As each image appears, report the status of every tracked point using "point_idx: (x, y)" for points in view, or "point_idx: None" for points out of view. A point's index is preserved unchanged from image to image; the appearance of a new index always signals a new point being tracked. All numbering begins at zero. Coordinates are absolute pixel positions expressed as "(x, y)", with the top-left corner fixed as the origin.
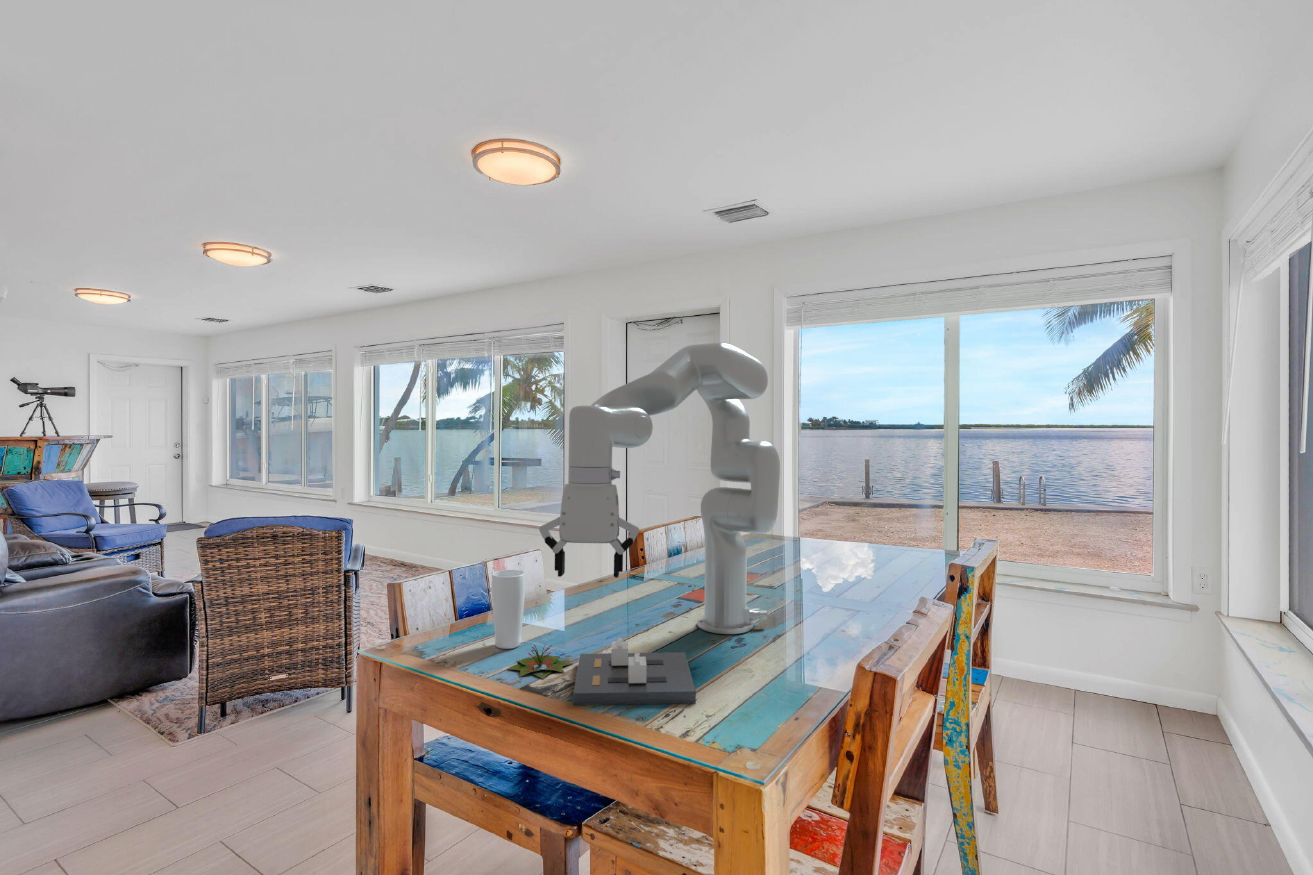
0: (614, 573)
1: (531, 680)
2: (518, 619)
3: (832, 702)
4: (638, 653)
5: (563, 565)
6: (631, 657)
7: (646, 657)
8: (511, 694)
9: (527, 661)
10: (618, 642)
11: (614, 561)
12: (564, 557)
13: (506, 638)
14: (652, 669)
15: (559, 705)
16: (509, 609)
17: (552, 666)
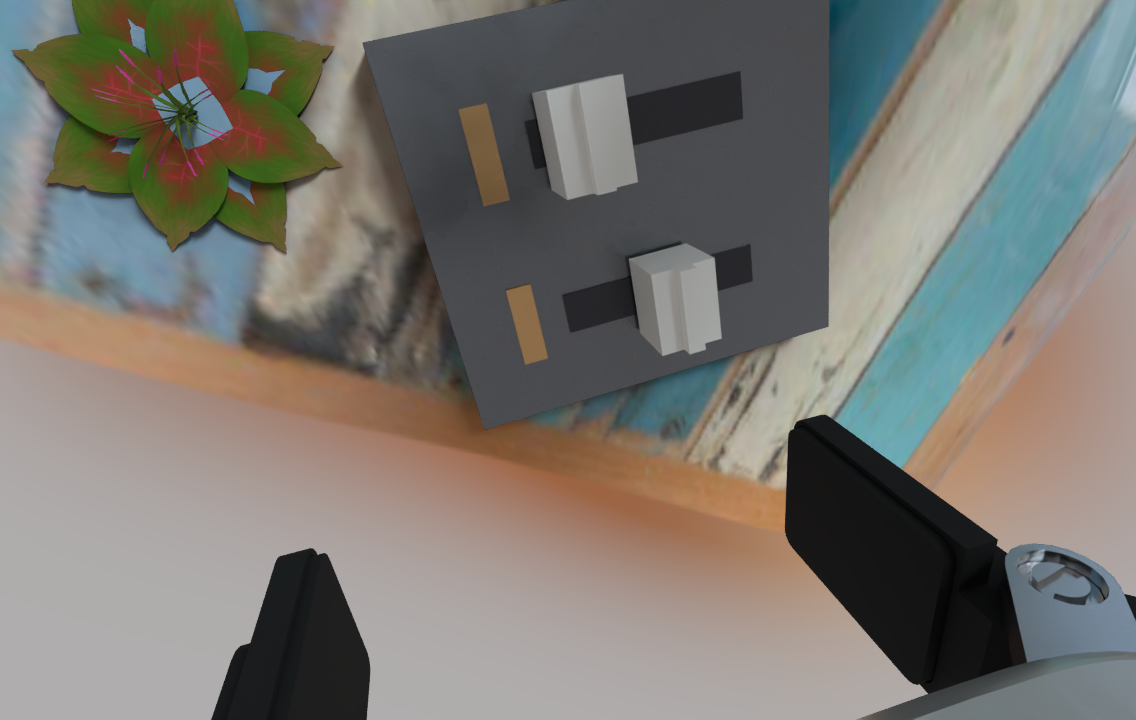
0: (806, 556)
1: (242, 266)
2: None
3: (1120, 229)
4: (694, 270)
5: (338, 679)
6: (663, 279)
7: (673, 46)
8: (242, 392)
9: (92, 75)
10: (593, 149)
11: (876, 635)
12: (305, 708)
13: None
14: (704, 180)
15: (439, 419)
16: None
17: (257, 118)
